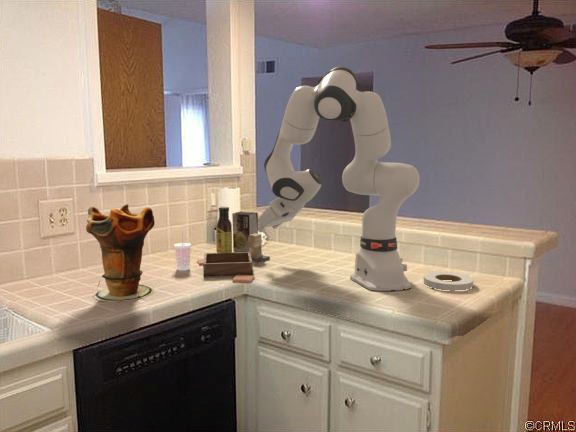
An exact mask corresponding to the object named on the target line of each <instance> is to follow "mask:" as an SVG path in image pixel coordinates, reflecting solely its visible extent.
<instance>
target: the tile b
mask: <svg viewBox="0 0 576 432" xmlns="http://www.w3.org/2000/svg"><path fill="white" fill-rule="evenodd" d="M254 279H255V275H236V276H233V278H232V283H246V284H251V283H252V282H253V280H254Z"/></svg>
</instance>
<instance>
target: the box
mask: <svg viewBox="0 0 576 432" xmlns="http://www.w3.org/2000/svg"><path fill="white" fill-rule="evenodd" d="M203 259H204V262H203V265H202V267H203V269H202V270H203V277H204V278H210V277H232V276H233V277H235V275H253V273H254V271H253V270H254V269H253V268H254V266H253V261H252V258H251V255H250V252H241V251H235V252H234V251H232V253H217V252H205V253H204V257H203Z"/></svg>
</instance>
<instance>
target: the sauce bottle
mask: <svg viewBox="0 0 576 432" xmlns="http://www.w3.org/2000/svg"><path fill="white" fill-rule="evenodd" d="M229 212H230V207H229V206H219V207H218V213H219V216H218V219H217V223H216V226H215V234H216V236H215V237H216V238H215V239H216V241H215V243H216V245H215V247H216V253H232V252H233V223H232V222H231V219H229V218H230V216H229Z"/></svg>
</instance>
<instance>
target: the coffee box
mask: <svg viewBox="0 0 576 432" xmlns="http://www.w3.org/2000/svg"><path fill="white" fill-rule="evenodd" d="M231 218H232V219H231V220H232V252H234V251H235V252H249V235H251V234H255V233H256V234H259V231H258V228H259V223H258V219H259V215H258V212H253V211H238V212H237V211H236V212H232V217H231Z"/></svg>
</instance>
